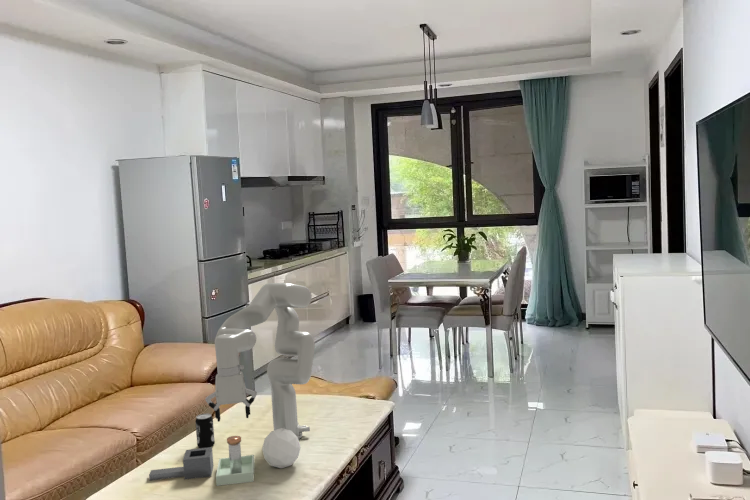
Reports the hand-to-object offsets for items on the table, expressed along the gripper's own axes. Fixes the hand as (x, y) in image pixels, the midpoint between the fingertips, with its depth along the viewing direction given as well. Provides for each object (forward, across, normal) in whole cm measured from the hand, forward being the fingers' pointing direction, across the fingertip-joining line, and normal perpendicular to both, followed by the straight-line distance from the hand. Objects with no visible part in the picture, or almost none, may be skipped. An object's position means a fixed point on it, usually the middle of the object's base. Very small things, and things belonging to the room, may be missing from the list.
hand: (233, 418), depth 228 cm
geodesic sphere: (+20, -15, -2) cm, 25 cm away
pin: (+19, +1, +1) cm, 19 cm away
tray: (+20, +1, +1) cm, 20 cm away
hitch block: (+19, +20, -4) cm, 28 cm away
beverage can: (+20, +14, -29) cm, 38 cm away
